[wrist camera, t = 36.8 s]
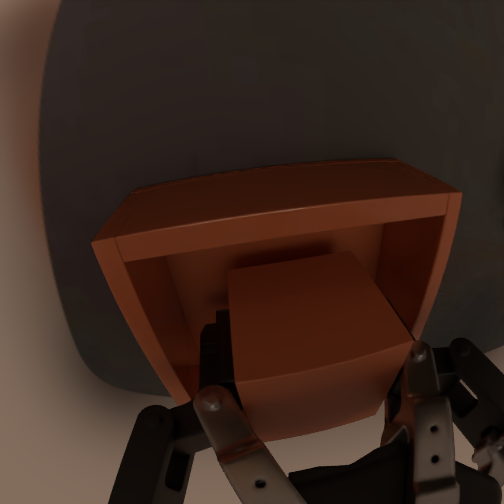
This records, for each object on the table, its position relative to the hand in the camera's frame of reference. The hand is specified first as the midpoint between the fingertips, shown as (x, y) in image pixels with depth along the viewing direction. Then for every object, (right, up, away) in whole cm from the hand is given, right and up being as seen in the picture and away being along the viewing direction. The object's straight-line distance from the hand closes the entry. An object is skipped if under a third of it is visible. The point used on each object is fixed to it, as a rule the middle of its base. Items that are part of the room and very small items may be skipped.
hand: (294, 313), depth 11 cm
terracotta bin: (0, +1, +2) cm, 3 cm away
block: (0, 0, 0) cm, 0 cm away
